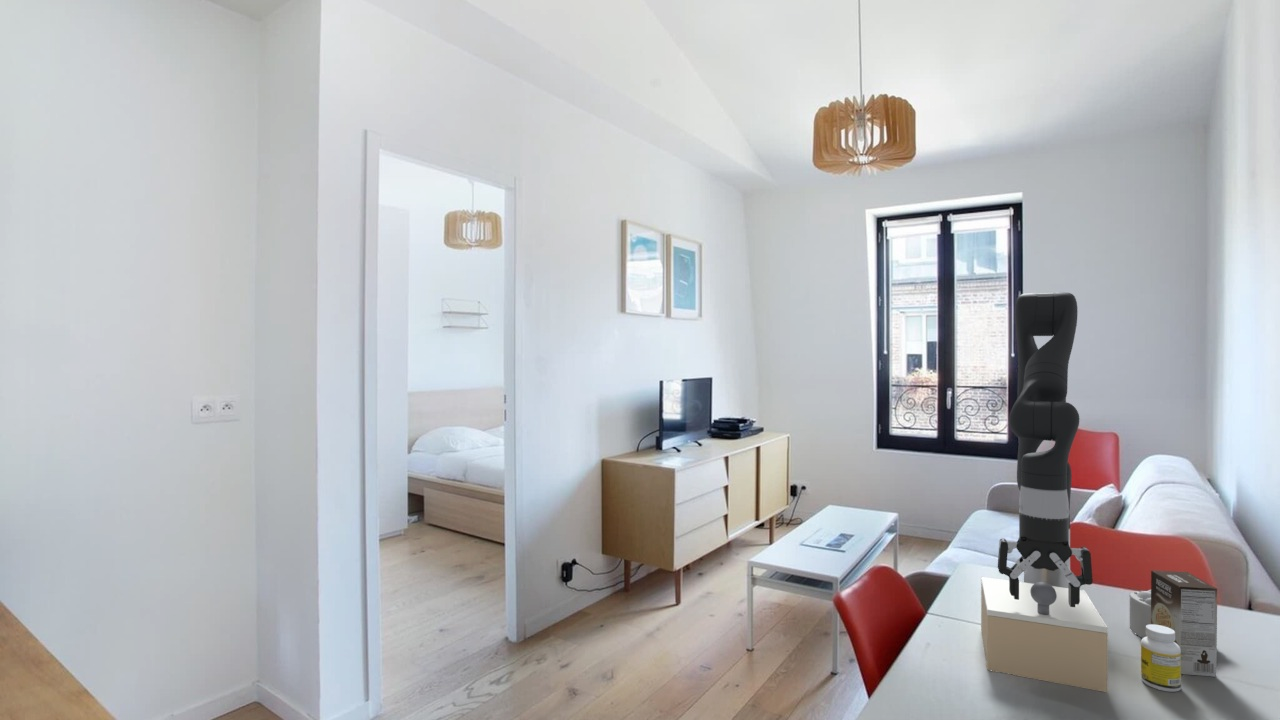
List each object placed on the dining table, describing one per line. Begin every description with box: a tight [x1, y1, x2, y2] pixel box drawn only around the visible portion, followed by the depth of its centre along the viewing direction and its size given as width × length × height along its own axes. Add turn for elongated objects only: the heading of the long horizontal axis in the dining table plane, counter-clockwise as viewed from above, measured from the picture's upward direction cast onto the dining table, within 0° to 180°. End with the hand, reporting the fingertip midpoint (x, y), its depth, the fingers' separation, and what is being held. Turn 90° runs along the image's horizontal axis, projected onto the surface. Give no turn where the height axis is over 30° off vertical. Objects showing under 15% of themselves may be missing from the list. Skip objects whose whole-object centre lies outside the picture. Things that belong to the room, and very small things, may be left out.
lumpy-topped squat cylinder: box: [1129, 589, 1151, 639], centre depth 130 cm, size 10×13×9 cm
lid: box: [980, 576, 1109, 634], centre depth 121 cm, size 19×18×6 cm
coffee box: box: [1150, 569, 1218, 678], centre depth 118 cm, size 9×6×16 cm
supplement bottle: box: [1140, 624, 1182, 693], centre depth 111 cm, size 5×5×10 cm
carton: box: [980, 583, 1109, 693], centre depth 121 cm, size 19×18×10 cm
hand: (1043, 601), depth 114 cm, fingers open, 8 cm apart
